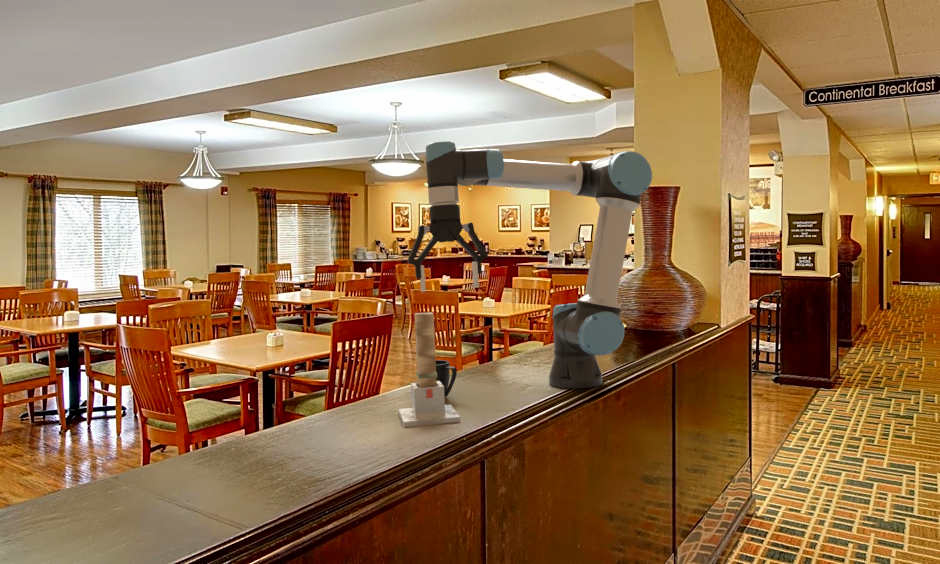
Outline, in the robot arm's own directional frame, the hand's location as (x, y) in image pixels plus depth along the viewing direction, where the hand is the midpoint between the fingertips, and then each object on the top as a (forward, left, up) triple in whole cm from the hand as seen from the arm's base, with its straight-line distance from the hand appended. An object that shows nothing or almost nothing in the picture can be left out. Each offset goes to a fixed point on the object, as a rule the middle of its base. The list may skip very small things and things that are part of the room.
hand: (450, 289), depth 169 cm
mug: (+2, -11, -30) cm, 32 cm away
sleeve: (+8, +9, -30) cm, 32 cm away
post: (+8, +9, -24) cm, 26 cm away
